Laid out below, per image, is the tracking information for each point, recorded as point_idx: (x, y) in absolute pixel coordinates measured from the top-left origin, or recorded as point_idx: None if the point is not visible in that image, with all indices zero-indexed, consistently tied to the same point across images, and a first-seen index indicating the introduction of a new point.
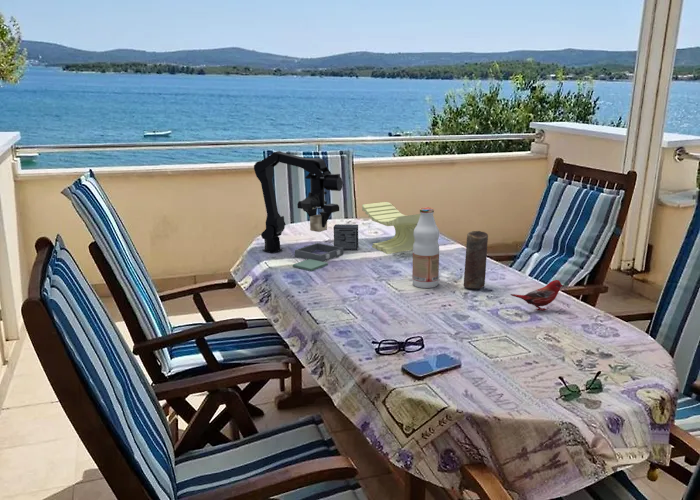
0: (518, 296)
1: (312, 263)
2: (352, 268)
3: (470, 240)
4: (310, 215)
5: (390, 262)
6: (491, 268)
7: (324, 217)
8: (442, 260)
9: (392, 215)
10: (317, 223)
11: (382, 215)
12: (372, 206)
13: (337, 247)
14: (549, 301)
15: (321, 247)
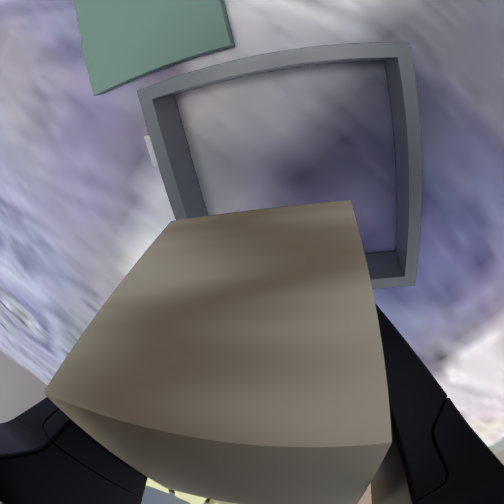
0: None
1: (133, 16)
2: (32, 161)
3: None
4: (423, 472)
5: (54, 295)
6: (7, 348)
7: (32, 414)
8: (50, 358)
9: (189, 498)
10: (138, 299)
11: (199, 499)
12: None
13: None
14: None
15: (369, 265)
